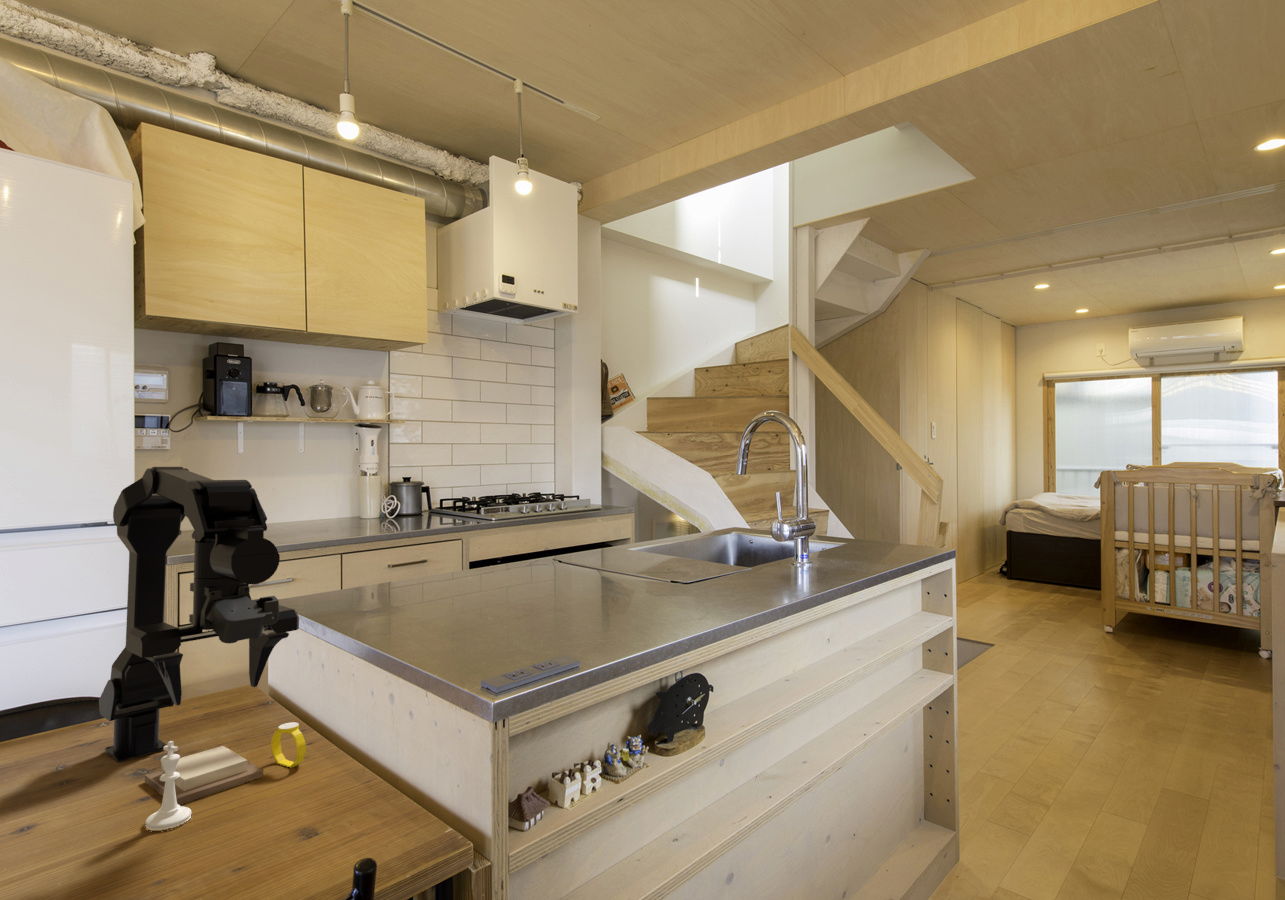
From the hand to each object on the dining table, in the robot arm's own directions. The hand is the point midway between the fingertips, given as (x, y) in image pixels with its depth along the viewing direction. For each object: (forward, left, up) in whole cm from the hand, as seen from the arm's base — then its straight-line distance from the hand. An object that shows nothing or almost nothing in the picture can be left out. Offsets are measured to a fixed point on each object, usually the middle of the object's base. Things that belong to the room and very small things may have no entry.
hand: (217, 695), depth 92 cm
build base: (-10, +2, -15) cm, 18 cm away
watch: (-6, +12, -15) cm, 20 cm away
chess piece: (-1, -5, -15) cm, 16 cm away
